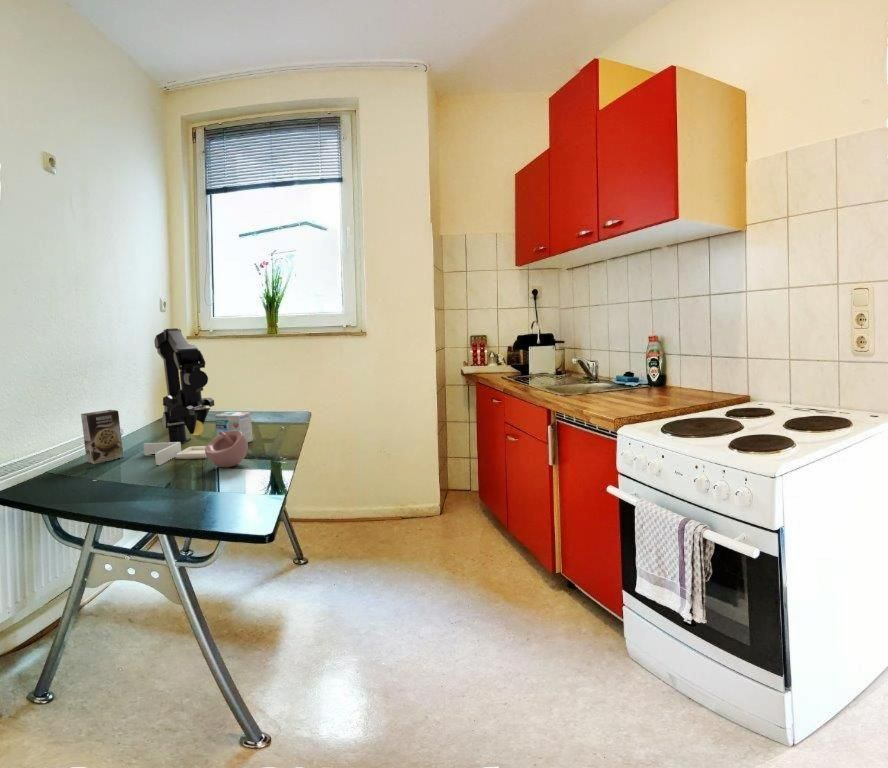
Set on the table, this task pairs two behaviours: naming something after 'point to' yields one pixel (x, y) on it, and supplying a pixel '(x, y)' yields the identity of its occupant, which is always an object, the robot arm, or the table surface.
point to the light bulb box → (235, 423)
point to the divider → (162, 450)
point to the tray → (192, 453)
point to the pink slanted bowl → (227, 449)
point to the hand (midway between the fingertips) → (195, 432)
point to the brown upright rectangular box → (102, 436)
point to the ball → (198, 428)
